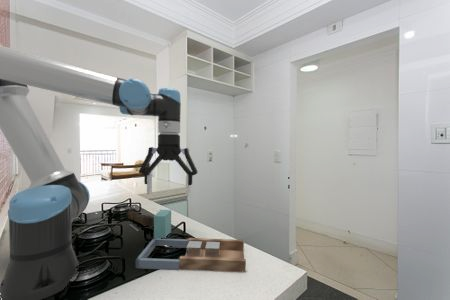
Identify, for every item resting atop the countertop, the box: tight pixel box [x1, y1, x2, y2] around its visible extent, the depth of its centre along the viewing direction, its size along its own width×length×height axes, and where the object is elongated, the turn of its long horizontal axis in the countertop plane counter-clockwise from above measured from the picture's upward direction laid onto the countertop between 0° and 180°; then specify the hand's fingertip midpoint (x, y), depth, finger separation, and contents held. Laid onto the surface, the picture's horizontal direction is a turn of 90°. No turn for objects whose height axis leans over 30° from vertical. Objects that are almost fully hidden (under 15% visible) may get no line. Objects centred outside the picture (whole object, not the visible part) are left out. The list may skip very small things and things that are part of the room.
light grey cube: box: [205, 242, 220, 258], centre depth 64 cm, size 4×4×4 cm
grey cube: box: [185, 241, 202, 257], centre depth 64 cm, size 4×4×4 cm
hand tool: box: [126, 210, 154, 227], centre depth 92 cm, size 19×4×5 cm, turn 50°
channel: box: [178, 237, 247, 273], centre depth 64 cm, size 18×12×4 cm
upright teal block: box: [153, 209, 172, 239], centre depth 77 cm, size 4×7×10 cm, turn 178°
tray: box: [135, 237, 188, 271], centre depth 64 cm, size 12×13×4 cm
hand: (168, 193), depth 76 cm, fingers open, 13 cm apart
